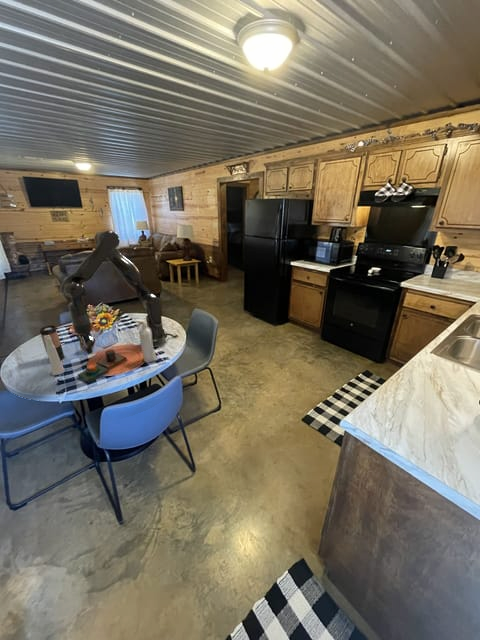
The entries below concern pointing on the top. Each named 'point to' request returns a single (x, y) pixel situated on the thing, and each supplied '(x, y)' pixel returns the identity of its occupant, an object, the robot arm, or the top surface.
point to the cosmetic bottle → (53, 357)
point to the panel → (112, 362)
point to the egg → (84, 347)
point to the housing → (92, 373)
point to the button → (91, 367)
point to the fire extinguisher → (146, 341)
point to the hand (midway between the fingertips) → (89, 353)
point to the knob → (110, 355)
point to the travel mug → (54, 337)
